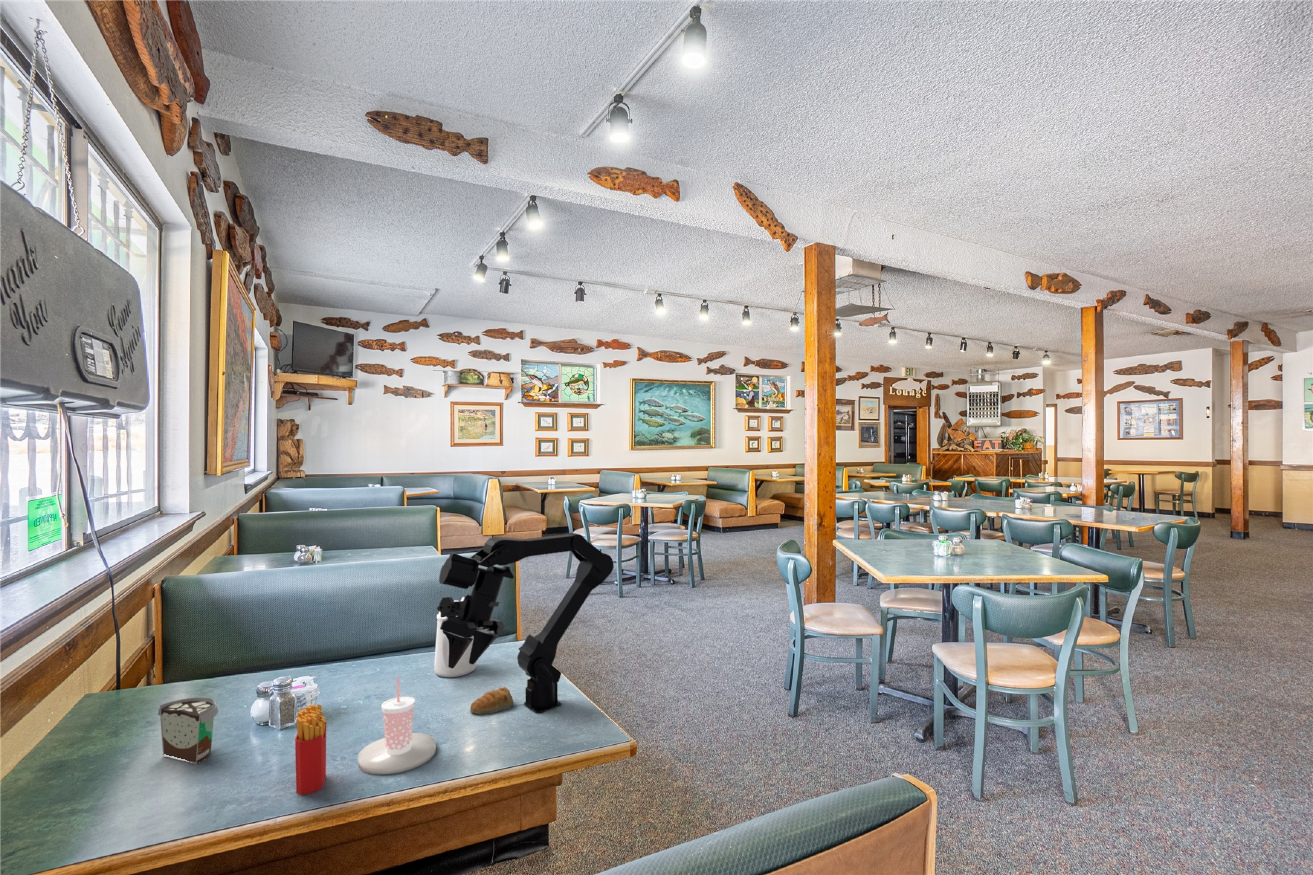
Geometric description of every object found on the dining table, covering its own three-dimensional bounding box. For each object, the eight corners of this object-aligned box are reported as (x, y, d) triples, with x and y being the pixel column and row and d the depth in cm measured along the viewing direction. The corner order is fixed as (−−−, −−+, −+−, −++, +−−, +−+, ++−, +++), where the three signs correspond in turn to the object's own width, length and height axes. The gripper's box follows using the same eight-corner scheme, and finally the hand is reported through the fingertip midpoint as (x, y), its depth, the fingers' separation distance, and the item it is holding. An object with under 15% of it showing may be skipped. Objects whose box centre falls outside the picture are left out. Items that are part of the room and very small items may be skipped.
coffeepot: (484, 654, 181) (483, 589, 181) (467, 687, 156) (467, 611, 156) (445, 656, 179) (445, 590, 180) (422, 689, 154) (422, 613, 155)
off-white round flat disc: (421, 732, 131) (421, 726, 131) (447, 757, 120) (447, 750, 120) (349, 754, 122) (349, 747, 122) (370, 783, 111) (370, 776, 111)
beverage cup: (385, 743, 124) (385, 672, 124) (418, 740, 125) (417, 670, 125) (377, 758, 118) (377, 684, 118) (412, 755, 119) (411, 681, 119)
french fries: (320, 794, 108) (320, 718, 108) (292, 799, 106) (292, 722, 107) (328, 768, 116) (328, 698, 117) (303, 773, 115) (302, 702, 115)
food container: (233, 750, 124) (233, 700, 124) (202, 765, 118) (202, 712, 118) (190, 741, 128) (190, 692, 128) (157, 755, 122) (157, 704, 123)
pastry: (480, 720, 137) (479, 702, 137) (463, 711, 142) (463, 694, 142) (515, 706, 144) (515, 689, 144) (499, 699, 149) (499, 682, 149)
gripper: (472, 585, 148) (450, 651, 144) (431, 582, 130) (405, 657, 127) (514, 598, 145) (492, 666, 142) (478, 597, 127) (452, 674, 124)
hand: (461, 665), depth 134 cm, fingers open, 9 cm apart
